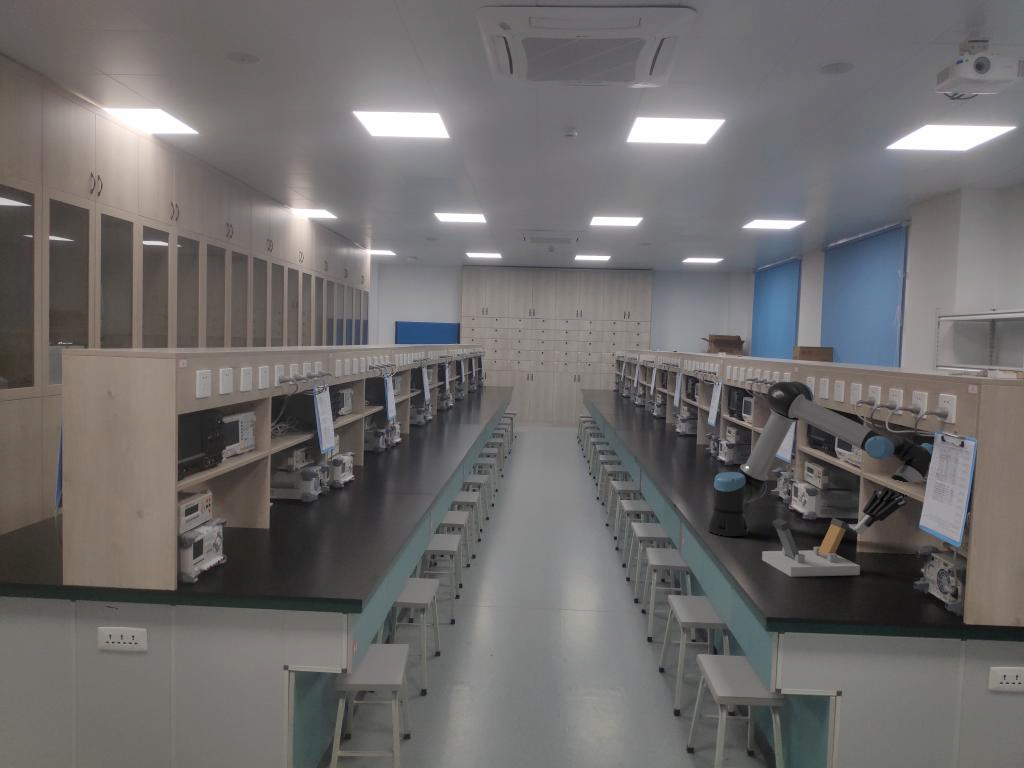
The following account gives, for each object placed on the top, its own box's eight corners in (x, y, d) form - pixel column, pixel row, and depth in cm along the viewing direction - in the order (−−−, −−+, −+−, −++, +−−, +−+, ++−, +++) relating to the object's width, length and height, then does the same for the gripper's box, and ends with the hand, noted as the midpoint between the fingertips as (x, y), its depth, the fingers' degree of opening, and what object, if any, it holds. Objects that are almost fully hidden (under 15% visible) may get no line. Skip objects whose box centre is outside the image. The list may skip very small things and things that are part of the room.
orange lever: (816, 553, 217) (832, 517, 217) (822, 556, 217) (839, 520, 218) (825, 558, 212) (843, 521, 212) (832, 561, 212) (849, 524, 212)
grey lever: (786, 557, 215) (772, 521, 214) (792, 553, 216) (778, 518, 214) (795, 561, 210) (780, 525, 209) (802, 558, 210) (787, 522, 209)
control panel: (762, 559, 220) (762, 544, 220) (826, 558, 224) (827, 543, 224) (790, 576, 204) (791, 559, 203) (859, 574, 207) (860, 558, 207)
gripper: (926, 493, 211) (878, 544, 209) (896, 485, 224) (851, 534, 222) (912, 477, 210) (864, 529, 208) (883, 470, 223) (837, 519, 221)
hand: (857, 531), depth 215 cm, fingers closed
